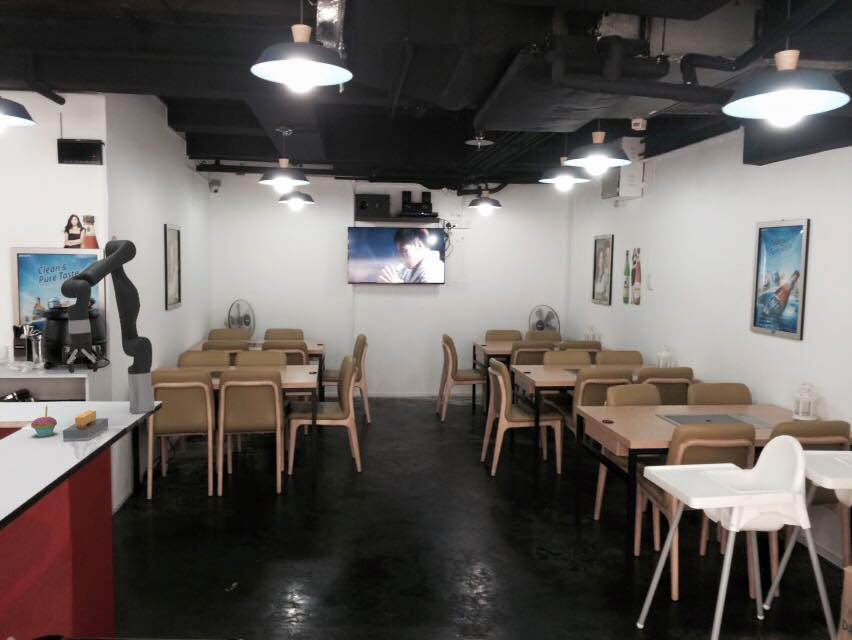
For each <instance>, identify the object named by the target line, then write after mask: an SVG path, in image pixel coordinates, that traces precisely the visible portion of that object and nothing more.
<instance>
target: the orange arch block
mask: <svg viewBox="0 0 852 640" xmlns="http://www.w3.org/2000/svg"><path fill="white" fill-rule="evenodd" d="M94 419H97V410H87V411H84V412H83V413H81V414H79V415H77V416H75V418H74V424H75V425H78V428H85V427H87V426H86V424H87V423H94Z"/></svg>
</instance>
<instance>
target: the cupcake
mask: <svg viewBox="0 0 852 640" xmlns="http://www.w3.org/2000/svg"><path fill="white" fill-rule="evenodd" d="M44 408H45V412H44V416H42V417H37V418H36V419H34V420H33V421H31V424H30V426H31V429H34V430H35V432H36V434H37V437H38V438H45V437H50V436H52V435H53V434H54V429H55V427H56V425H58V422H57V419H55V418H54V417H51V416H48V404H46V406H45V407H44Z"/></svg>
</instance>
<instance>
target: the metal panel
mask: <svg viewBox="0 0 852 640" xmlns="http://www.w3.org/2000/svg"><path fill="white" fill-rule="evenodd" d="M86 426H87V427H85V428H78V425H75V423H74V424H73V425H70V426H69V427H66V429H64V430H62V438H63V439H62V440H63V442H82V441H84V442H85V441H90V440H92V439H94V438H95V437H97V436H98V435H100V434H101V433H103V432H105V431H107V428H108V429H109V418H96V419H94V423H87V424H86Z"/></svg>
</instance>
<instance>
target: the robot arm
mask: <svg viewBox="0 0 852 640" xmlns="http://www.w3.org/2000/svg"><path fill="white" fill-rule="evenodd" d="M104 254H105V257H103V258H102V259H99V260H97V261H94V262H93V263H91V264H90V265H88V266H86V268H84V269H83V270H82V271H81V272H79V273H77V274H75V275H73V276H71V277H69V278H67V279H66V280H65V281H64V282H62V284H61V286H60V293H61V295H62V296H63V297H65V298H67V299H76V301H75V303H74V304H70V305H69V306H68V307H67V317H68V335H69V344H70V346H66V345H65V346H62V347H61V362H62V363H64V364H65V363H66V364H67V368H68V372H69V373H70V374H73V373H75V364H74V361H75V360H76V358H77V359H78V358H88V360H90V361H91V362H92V372H93V373H96V372H97V371H98V370H99V362H100V361H102V360H103V350H102V346H101V344H98V345H93V342H92V331H91V330H92V328H91V322H90V316H89V315H90V314H89V306H90V302H91V301H90V300H91V296H92V288H93V287H94V286H96V285H97V284H99V283H100V282H101V281H102V280H103V279H105V277H107V276H108V275H110V276H111V279H112V280H111V281H112V284H113V285H112V286H113V290H114V298H115V302H116V307H117V308H116V309H117V312H118V317H119V324H120V331H121V333H120V334H121V336H120V337H121V344H122V345H121V346H122V351H123V352H124V354H125V355H126V356H127V357H132V358H133V362H132V364H131V365H129V366H128V367H127V376H128V377H127V379H128V399H129V413H130V414H143V413H150V412H152V411H155V396H154V395H155V391H154V388H152V373H151V370H152V369H151V368H152V366H153V346H152V342H151V340H150V339H149V338H148V337H146V336H139V334H138V333H139V332H138V329H137V321H138V317H139V314H140V311H141V301H140V296H139V291H138V288H137V287H136V286H135V284H134V283H133V281H132V280H131V279H130V278H129V277H128V275H127V274H126V271H125V269H124V265H125V264H127V263H129V262H131V261H133V259H135V257H136V255H137V247H136V244H135V242H133V241H131V240H128V239H118V240H115V239H114V240H108V241H107V242H106V244H105V246H104ZM93 350H94V352H95V354H96V356H95V354H94V353H93V352H92V351H93ZM69 352H71V355H70V357H69Z"/></svg>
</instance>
